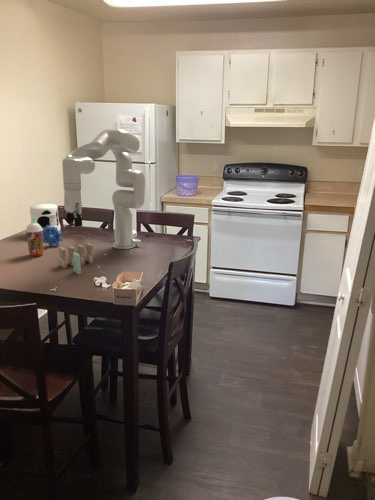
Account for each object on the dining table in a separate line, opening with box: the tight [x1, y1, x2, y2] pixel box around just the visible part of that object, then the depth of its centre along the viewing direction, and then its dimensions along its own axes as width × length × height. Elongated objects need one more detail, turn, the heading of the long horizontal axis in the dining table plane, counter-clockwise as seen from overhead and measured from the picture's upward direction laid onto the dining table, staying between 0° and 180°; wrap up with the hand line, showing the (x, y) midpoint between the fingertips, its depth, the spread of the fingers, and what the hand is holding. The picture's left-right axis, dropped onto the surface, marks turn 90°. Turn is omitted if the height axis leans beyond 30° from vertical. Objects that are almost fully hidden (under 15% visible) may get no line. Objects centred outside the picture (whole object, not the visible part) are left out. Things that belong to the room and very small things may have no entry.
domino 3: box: [73, 251, 82, 275], centre depth 200 cm, size 2×5×9 cm, turn 34°
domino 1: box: [58, 246, 67, 269], centre depth 208 cm, size 2×5×9 cm, turn 33°
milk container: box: [29, 203, 61, 232], centre depth 261 cm, size 17×17×18 cm
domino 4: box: [76, 243, 85, 266], centre depth 213 cm, size 2×5×9 cm, turn 33°
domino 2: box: [67, 245, 76, 267], centre depth 211 cm, size 2×5×9 cm, turn 34°
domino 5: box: [85, 242, 94, 264], centre depth 215 cm, size 2×5×9 cm, turn 34°
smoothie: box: [25, 217, 44, 258], centre depth 223 cm, size 8×8×20 cm
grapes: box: [42, 225, 63, 247], centre depth 239 cm, size 12×7×12 cm, turn 107°
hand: (74, 224), depth 198 cm, fingers open, 9 cm apart
